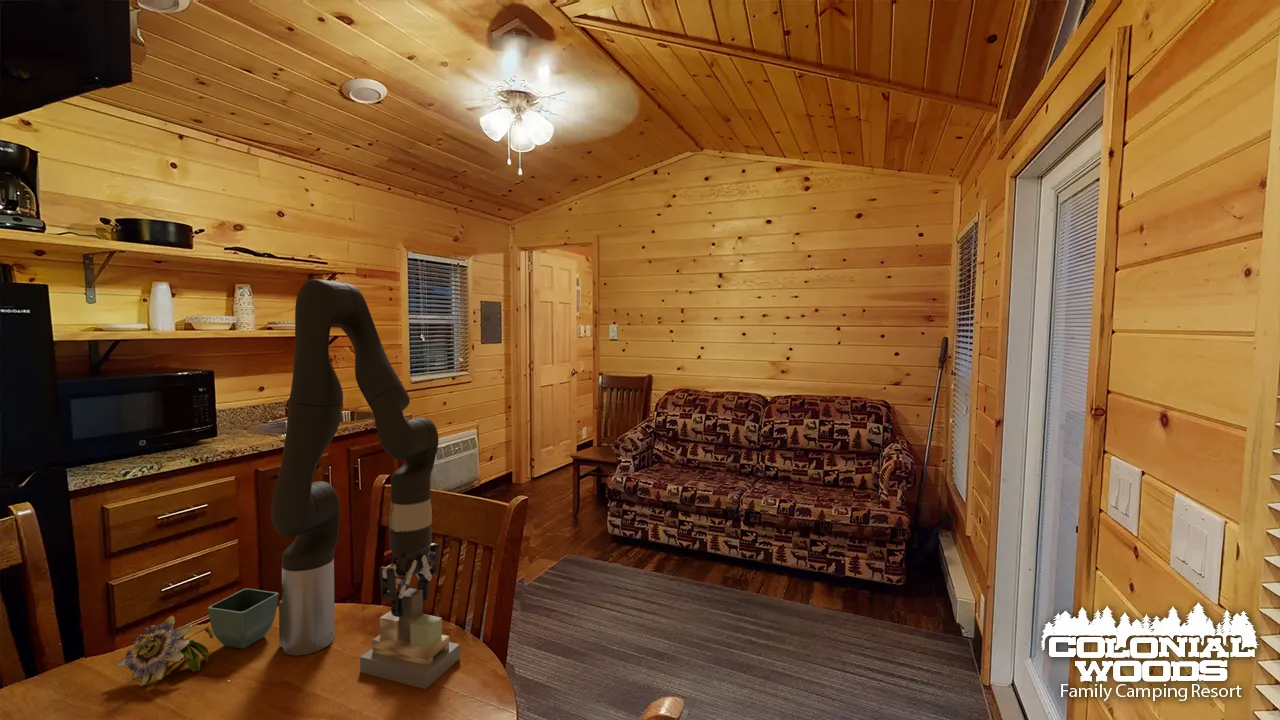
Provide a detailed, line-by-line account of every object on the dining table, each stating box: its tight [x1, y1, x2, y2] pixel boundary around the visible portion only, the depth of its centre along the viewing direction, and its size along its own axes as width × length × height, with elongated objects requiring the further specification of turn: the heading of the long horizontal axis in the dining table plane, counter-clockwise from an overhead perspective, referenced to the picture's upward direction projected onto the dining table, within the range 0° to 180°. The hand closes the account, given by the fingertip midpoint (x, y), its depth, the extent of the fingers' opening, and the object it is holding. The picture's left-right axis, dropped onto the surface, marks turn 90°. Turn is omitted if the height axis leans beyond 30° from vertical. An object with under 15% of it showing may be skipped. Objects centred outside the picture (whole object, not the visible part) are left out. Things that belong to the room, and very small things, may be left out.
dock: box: [359, 641, 461, 690], centre depth 107 cm, size 15×10×3 cm, turn 72°
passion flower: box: [115, 615, 214, 687], centre depth 104 cm, size 11×11×12 cm
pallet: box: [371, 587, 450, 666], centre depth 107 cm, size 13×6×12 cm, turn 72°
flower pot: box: [207, 588, 280, 650], centre depth 114 cm, size 9×9×9 cm
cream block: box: [379, 610, 399, 642], centre depth 108 cm, size 4×4×4 cm
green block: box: [410, 613, 443, 649], centre depth 105 cm, size 4×4×4 cm
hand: (411, 607), depth 106 cm, fingers open, 6 cm apart
